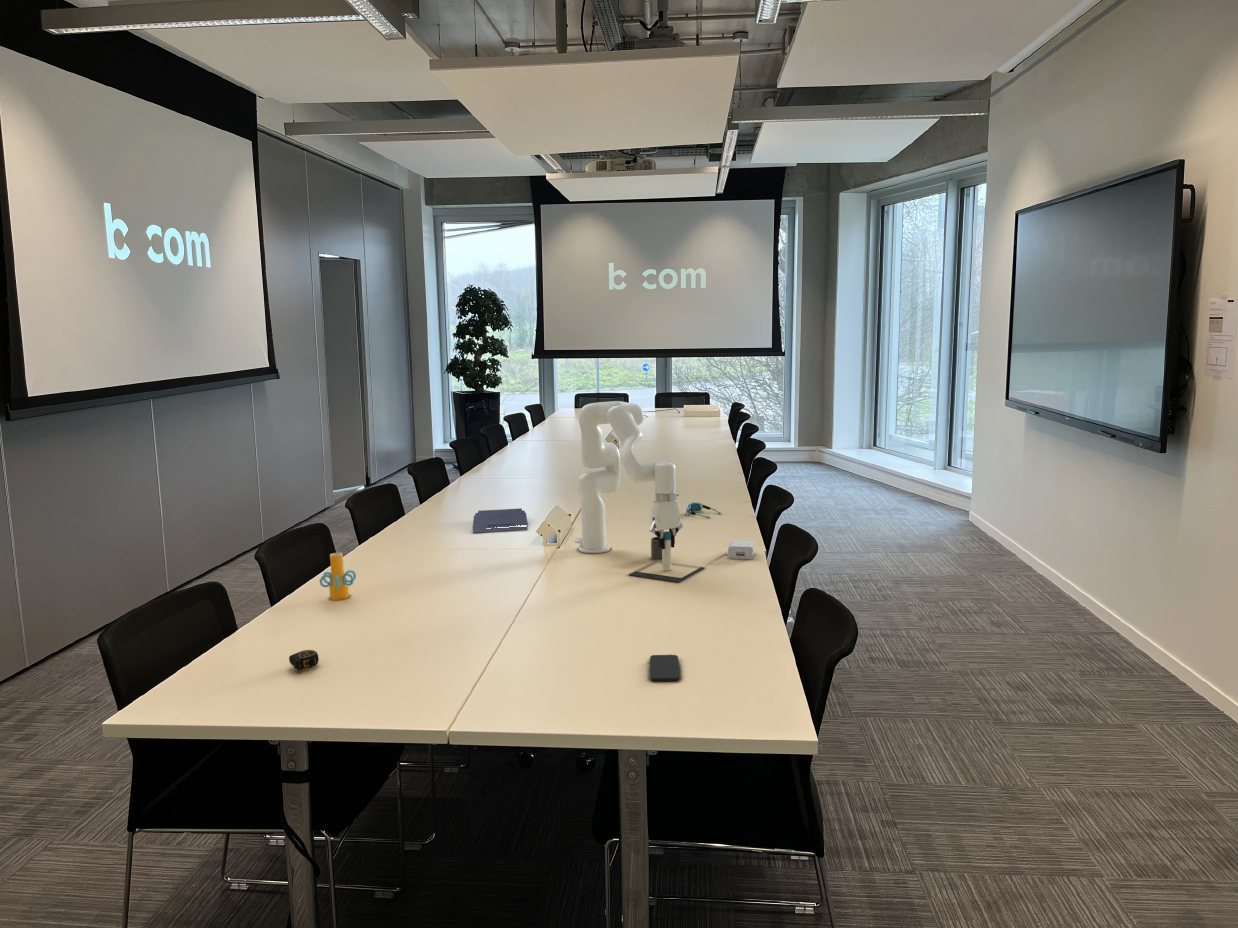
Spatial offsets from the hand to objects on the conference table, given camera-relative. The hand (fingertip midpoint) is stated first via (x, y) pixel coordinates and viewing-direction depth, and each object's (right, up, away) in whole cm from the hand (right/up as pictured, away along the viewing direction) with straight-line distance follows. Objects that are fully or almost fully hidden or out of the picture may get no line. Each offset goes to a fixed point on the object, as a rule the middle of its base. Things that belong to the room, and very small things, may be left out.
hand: (666, 547), depth 305 cm
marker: (0, -8, +1) cm, 8 cm away
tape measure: (-101, -25, -79) cm, 131 cm away
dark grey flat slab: (-71, +2, +85) cm, 111 cm away
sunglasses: (+22, +6, +95) cm, 98 cm away
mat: (0, -9, +1) cm, 9 cm away
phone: (-5, -23, -87) cm, 90 cm away
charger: (+30, -5, +24) cm, 39 cm away
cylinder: (-111, -15, -19) cm, 114 cm away
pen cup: (-2, -6, +19) cm, 20 cm away
